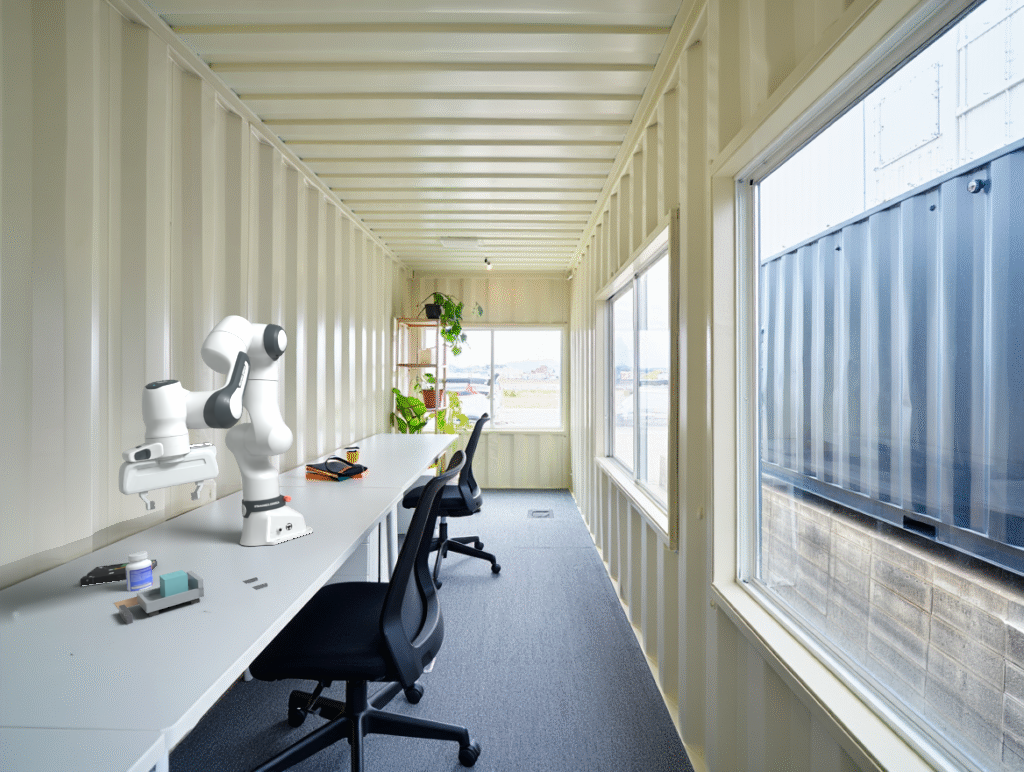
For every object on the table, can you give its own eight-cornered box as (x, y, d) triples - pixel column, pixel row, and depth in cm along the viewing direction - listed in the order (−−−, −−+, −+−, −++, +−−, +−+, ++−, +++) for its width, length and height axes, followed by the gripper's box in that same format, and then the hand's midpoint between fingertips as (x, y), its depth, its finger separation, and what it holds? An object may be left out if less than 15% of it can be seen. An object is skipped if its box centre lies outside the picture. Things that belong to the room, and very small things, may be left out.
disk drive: (80, 589, 136) (146, 579, 141) (79, 579, 136) (145, 569, 141) (96, 576, 146) (158, 567, 151) (95, 566, 146) (157, 557, 151)
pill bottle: (158, 588, 133) (156, 550, 133) (137, 597, 128) (135, 557, 128) (143, 586, 135) (141, 549, 135) (121, 595, 130) (119, 556, 129)
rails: (255, 579, 136) (255, 567, 136) (268, 586, 131) (267, 574, 131) (119, 619, 115) (118, 605, 115) (127, 630, 110) (126, 615, 110)
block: (182, 588, 123) (181, 569, 123) (188, 593, 120) (187, 574, 120) (160, 595, 119) (159, 575, 119) (165, 600, 116) (164, 580, 116)
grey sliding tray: (192, 594, 126) (191, 570, 126) (204, 603, 120) (203, 579, 120) (137, 610, 118) (136, 585, 118) (147, 621, 112) (145, 594, 112)
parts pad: (159, 595, 128) (159, 590, 128) (165, 601, 124) (165, 596, 124) (113, 607, 122) (113, 602, 122) (119, 614, 118) (119, 609, 118)
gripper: (211, 440, 135) (216, 492, 135) (113, 454, 120) (119, 513, 120) (219, 441, 130) (225, 495, 131) (119, 456, 115) (126, 517, 116)
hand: (173, 504), depth 126 cm, fingers open, 8 cm apart
